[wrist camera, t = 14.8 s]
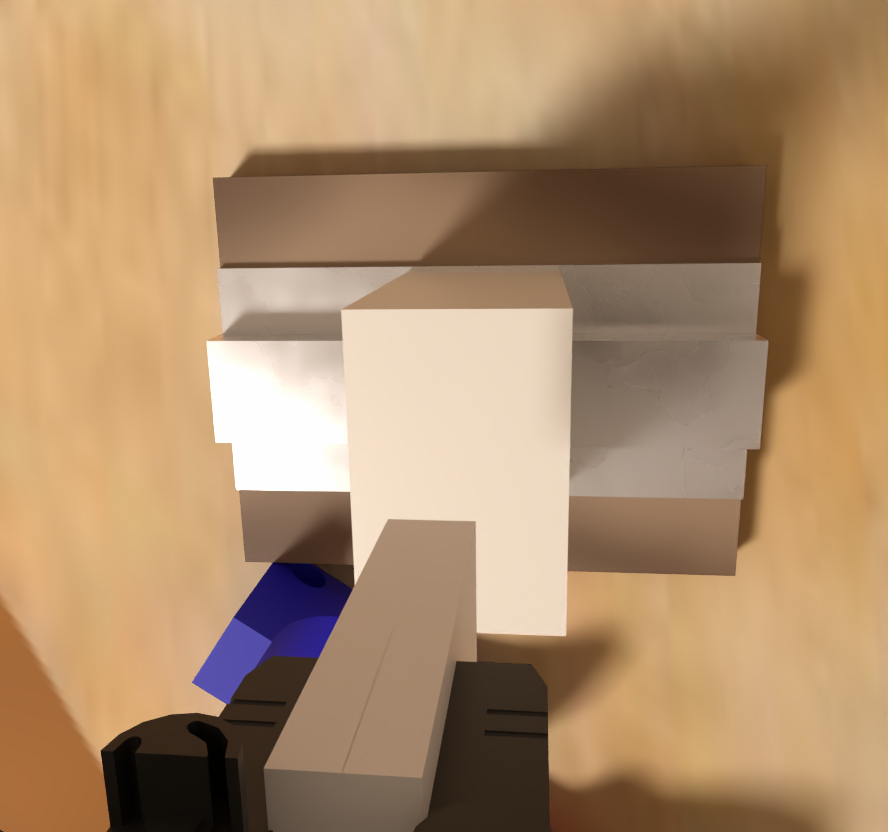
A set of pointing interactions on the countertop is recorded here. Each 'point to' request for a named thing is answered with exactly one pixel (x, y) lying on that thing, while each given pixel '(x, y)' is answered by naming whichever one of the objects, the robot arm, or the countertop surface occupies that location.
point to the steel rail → (592, 380)
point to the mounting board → (500, 243)
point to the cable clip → (275, 625)
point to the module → (468, 427)
